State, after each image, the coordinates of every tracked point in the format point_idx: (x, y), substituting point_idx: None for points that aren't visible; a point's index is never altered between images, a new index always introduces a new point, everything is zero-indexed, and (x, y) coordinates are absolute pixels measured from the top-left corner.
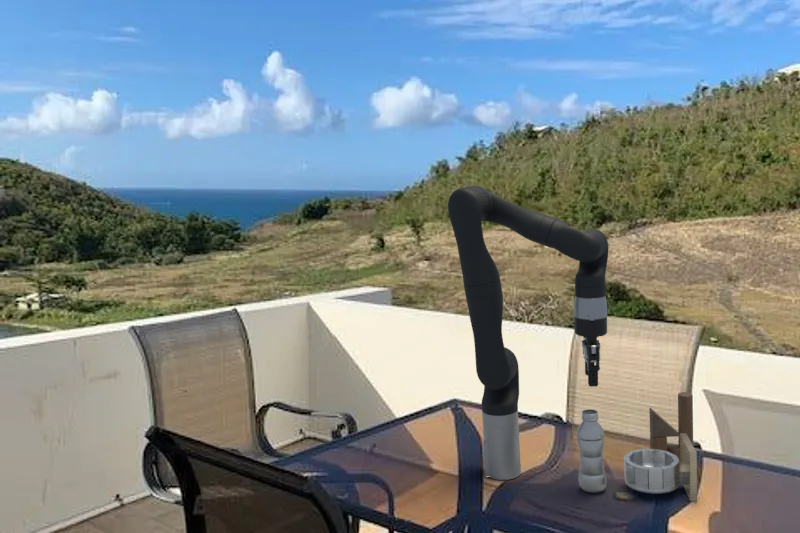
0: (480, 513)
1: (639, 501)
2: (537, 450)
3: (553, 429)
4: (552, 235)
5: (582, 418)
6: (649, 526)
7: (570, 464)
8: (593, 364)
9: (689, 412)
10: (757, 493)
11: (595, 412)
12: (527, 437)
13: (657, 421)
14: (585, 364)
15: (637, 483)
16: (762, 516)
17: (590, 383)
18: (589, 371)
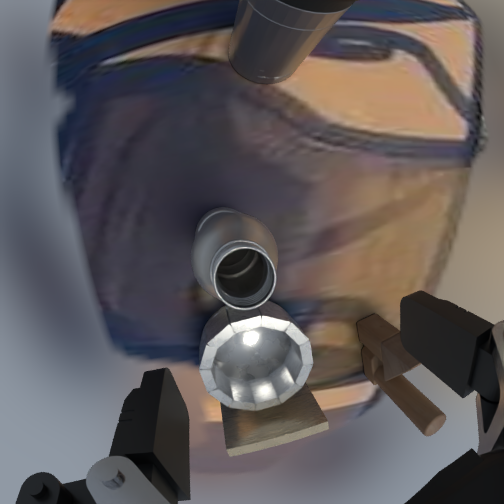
0: (90, 64)
1: (196, 322)
2: (379, 108)
3: (454, 137)
4: None
5: (224, 245)
6: (113, 343)
7: (333, 173)
8: (445, 378)
9: (407, 416)
10: (268, 448)
11: (265, 294)
12: (421, 93)
13: (399, 365)
14: (453, 325)
15: (204, 332)
16: (201, 454)
17: (127, 396)
18: (130, 459)
